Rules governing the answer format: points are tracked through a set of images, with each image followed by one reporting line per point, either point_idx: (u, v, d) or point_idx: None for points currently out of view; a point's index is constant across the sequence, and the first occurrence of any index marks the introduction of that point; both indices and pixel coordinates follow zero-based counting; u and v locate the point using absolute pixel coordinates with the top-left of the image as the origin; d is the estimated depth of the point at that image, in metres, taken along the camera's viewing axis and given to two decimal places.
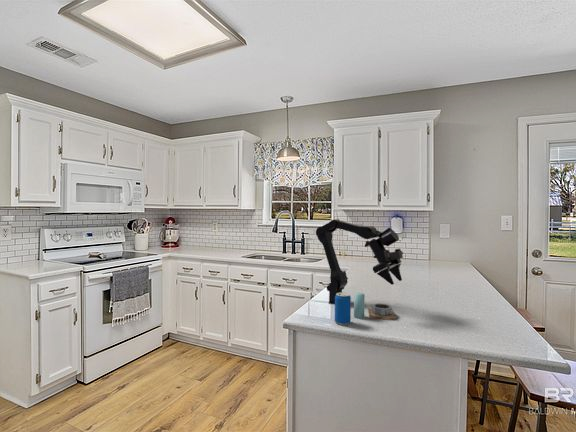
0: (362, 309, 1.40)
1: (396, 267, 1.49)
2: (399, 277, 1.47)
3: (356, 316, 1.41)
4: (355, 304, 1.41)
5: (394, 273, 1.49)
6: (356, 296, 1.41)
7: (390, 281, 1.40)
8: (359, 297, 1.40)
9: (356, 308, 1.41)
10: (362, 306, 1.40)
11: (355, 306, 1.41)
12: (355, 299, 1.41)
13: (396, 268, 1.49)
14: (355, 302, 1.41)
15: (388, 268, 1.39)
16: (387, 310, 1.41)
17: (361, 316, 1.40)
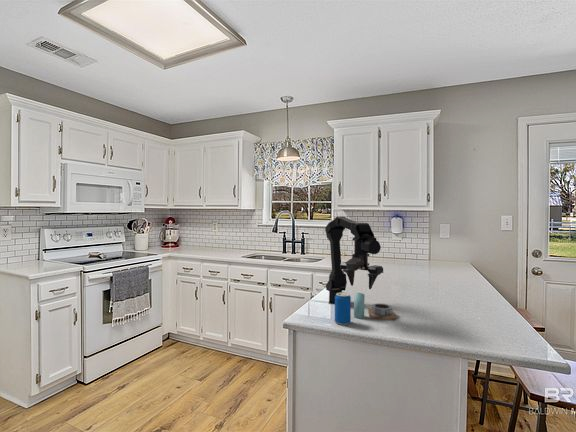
0: (362, 309, 1.40)
1: None
2: None
3: (356, 316, 1.41)
4: (355, 304, 1.41)
5: None
6: (356, 296, 1.41)
7: None
8: (359, 297, 1.40)
9: (356, 308, 1.41)
10: (362, 306, 1.40)
11: (355, 306, 1.41)
12: (355, 299, 1.41)
13: None
14: (355, 302, 1.41)
15: (344, 270, 1.45)
16: (387, 310, 1.41)
17: (361, 316, 1.40)
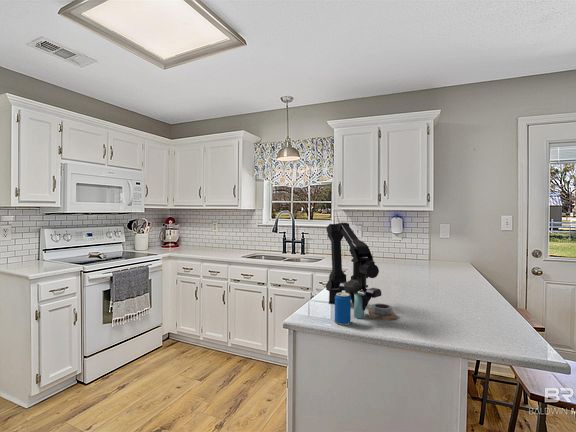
0: (362, 309, 1.40)
1: None
2: None
3: (356, 316, 1.41)
4: (355, 304, 1.41)
5: None
6: (356, 296, 1.41)
7: None
8: (359, 297, 1.40)
9: (356, 308, 1.41)
10: None
11: (355, 306, 1.41)
12: (355, 299, 1.41)
13: None
14: (355, 302, 1.41)
15: (347, 292, 1.44)
16: (387, 310, 1.41)
17: (361, 316, 1.40)
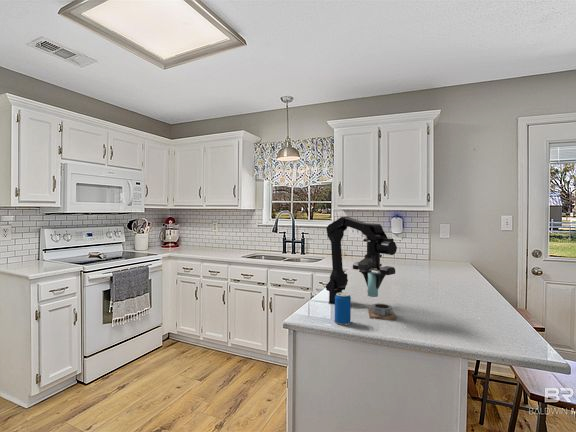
0: (375, 287, 1.41)
1: None
2: None
3: (370, 294, 1.42)
4: (369, 283, 1.42)
5: None
6: (370, 275, 1.42)
7: None
8: (373, 275, 1.41)
9: (370, 286, 1.42)
10: None
11: (369, 285, 1.42)
12: (369, 278, 1.42)
13: None
14: (369, 281, 1.42)
15: (360, 271, 1.45)
16: (387, 310, 1.41)
17: (374, 294, 1.41)
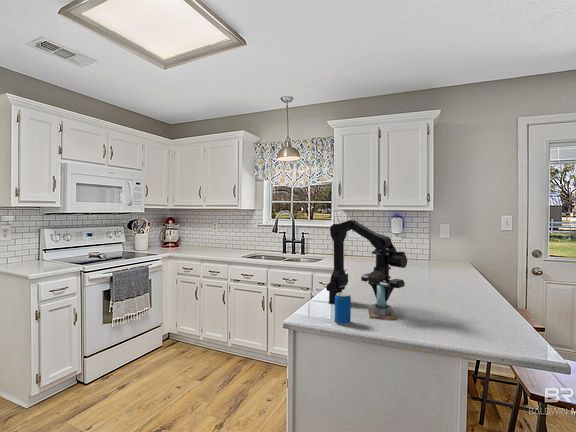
0: None
1: None
2: None
3: (379, 306, 1.43)
4: (378, 295, 1.44)
5: None
6: (379, 287, 1.43)
7: None
8: (382, 287, 1.42)
9: (379, 299, 1.43)
10: None
11: (378, 297, 1.44)
12: (378, 290, 1.44)
13: None
14: (378, 293, 1.44)
15: (369, 283, 1.46)
16: (387, 310, 1.41)
17: (384, 306, 1.43)
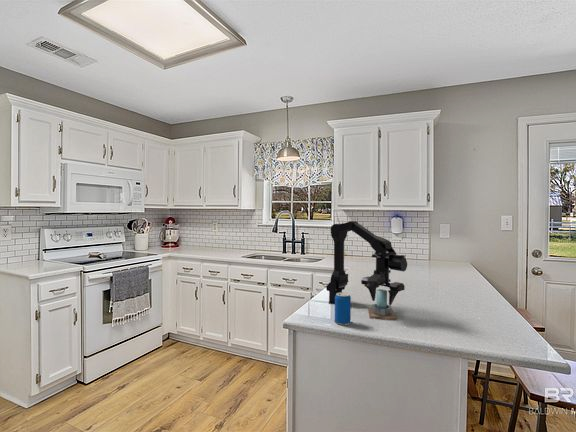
0: (385, 305, 1.43)
1: None
2: None
3: None
4: (378, 300, 1.44)
5: None
6: (379, 292, 1.43)
7: None
8: (382, 293, 1.42)
9: (379, 304, 1.43)
10: (385, 302, 1.43)
11: (378, 302, 1.44)
12: (378, 295, 1.44)
13: None
14: (378, 298, 1.44)
15: (366, 286, 1.47)
16: (387, 310, 1.41)
17: None
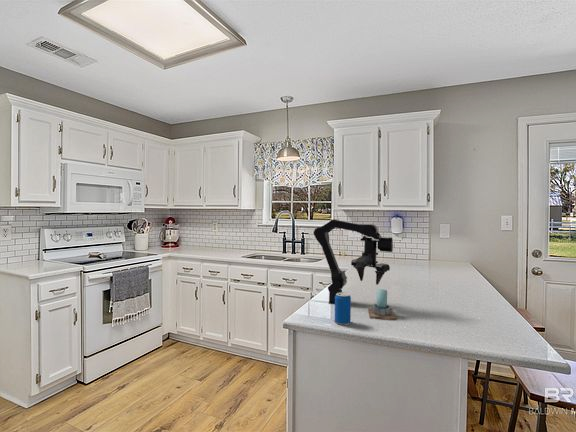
0: (385, 305, 1.43)
1: None
2: None
3: None
4: (378, 300, 1.44)
5: None
6: (379, 292, 1.43)
7: None
8: (382, 293, 1.42)
9: (379, 304, 1.43)
10: (385, 302, 1.43)
11: (378, 302, 1.44)
12: (378, 295, 1.44)
13: None
14: (378, 298, 1.44)
15: (354, 267, 1.60)
16: (387, 310, 1.41)
17: None
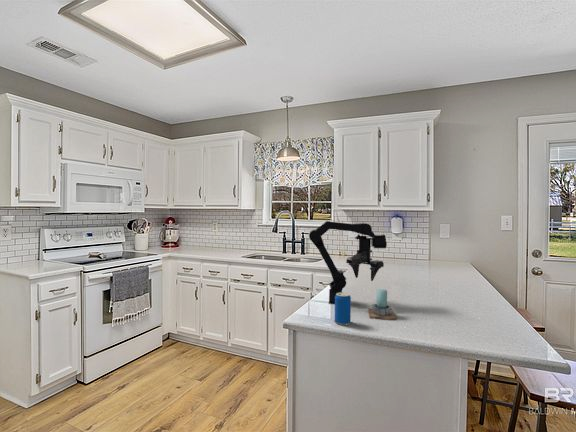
0: (385, 305, 1.43)
1: None
2: None
3: None
4: (378, 300, 1.44)
5: None
6: (379, 292, 1.43)
7: None
8: (382, 293, 1.42)
9: (379, 304, 1.43)
10: (385, 302, 1.43)
11: (378, 302, 1.44)
12: (378, 295, 1.44)
13: None
14: (378, 298, 1.44)
15: (350, 264, 1.66)
16: (387, 310, 1.41)
17: None
